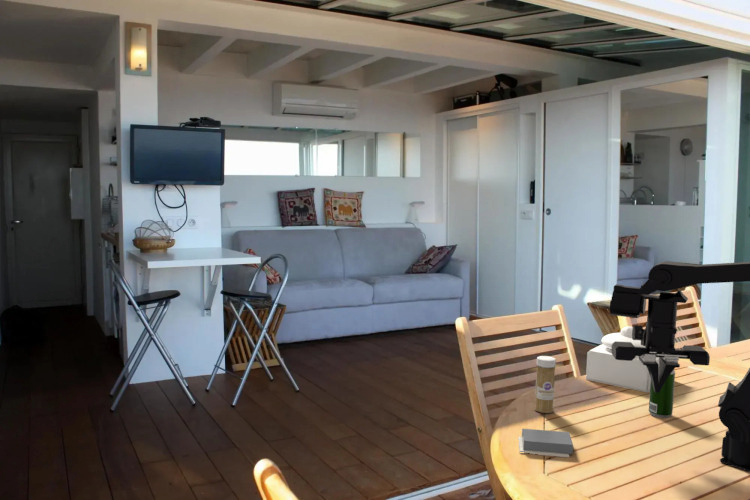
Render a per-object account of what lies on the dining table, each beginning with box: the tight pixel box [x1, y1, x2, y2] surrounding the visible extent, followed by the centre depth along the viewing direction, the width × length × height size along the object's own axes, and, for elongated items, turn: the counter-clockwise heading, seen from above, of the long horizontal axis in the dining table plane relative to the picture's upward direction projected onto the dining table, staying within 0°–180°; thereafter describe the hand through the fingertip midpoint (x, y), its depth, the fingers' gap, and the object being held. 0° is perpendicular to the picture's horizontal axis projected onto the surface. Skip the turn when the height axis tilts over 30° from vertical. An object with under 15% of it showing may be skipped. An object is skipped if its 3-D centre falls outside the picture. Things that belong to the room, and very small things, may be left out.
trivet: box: [517, 436, 570, 458], centre depth 145 cm, size 10×8×1 cm
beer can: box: [648, 364, 676, 419], centre depth 166 cm, size 5×5×12 cm
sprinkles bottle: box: [534, 355, 557, 414], centre depth 167 cm, size 5×5×14 cm
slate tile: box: [521, 428, 574, 455], centre depth 145 cm, size 2×7×10 cm
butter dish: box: [585, 325, 659, 394], centre depth 195 cm, size 18×18×16 cm
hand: (656, 392), depth 146 cm, fingers closed
